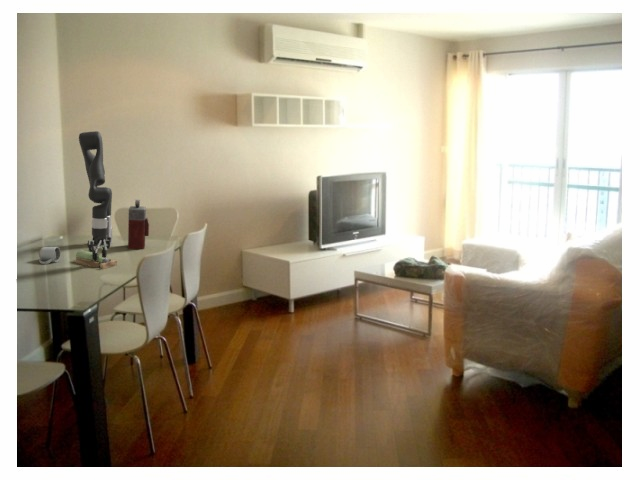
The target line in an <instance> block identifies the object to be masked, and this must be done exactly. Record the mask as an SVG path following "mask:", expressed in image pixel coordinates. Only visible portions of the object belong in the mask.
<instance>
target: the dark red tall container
mask: <svg viewBox="0 0 640 480" xmlns="http://www.w3.org/2000/svg"><path fill="white" fill-rule="evenodd" d="M140 201H141V200H140V199H135V203H134V205H130V206H129V208H128V229H127V230H128V231H127V232H128V233H127V234H128V236H127V239H128V240H127V242H128V243H127V245H128V246H127V249H131V250H144V249H145V248H146V237H149V236H150V220H149V218H148V217H147V208H146V206H140V204H141V203H140Z"/></svg>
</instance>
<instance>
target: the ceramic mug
mask: <svg viewBox="0 0 640 480" xmlns="http://www.w3.org/2000/svg"><path fill="white" fill-rule="evenodd" d="M38 256H39V259H38V260H39V263H40V264H42V265H47V264H50V263H51V262H52V263H57V262H59V260H60V258H61V249H60V247H58V246H43V247H41V248H40V249H39V253H38Z"/></svg>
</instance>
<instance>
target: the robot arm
mask: <svg viewBox="0 0 640 480" xmlns="http://www.w3.org/2000/svg"><path fill="white" fill-rule="evenodd" d="M78 141H79V146H80V149H81V152H82V156H83V160H84V165H85V171H86V175H87V179H88V183H89V190H88V195H87V196H88V199H89V200H90V201H92V202H93V203H94V204H97V205H94V206H92V211H91V212H92V215H91V217H92V218H91V235H92V239H90V240H87V247H88V252H92V258H93V260H97V254H98V250H99V249H100V247H101V257H103V258H107V253H108V252H107V251H108V249H110V248H111V245H112V244H113V228H112V198H113V191H112V189H111V188H110V187H107V186H103V185H104V184H105V183H106V178H105V177H106V176H105V175H106V173H105V172H106V170H105V166H104V147H103V144H104V143H103V137H102V134H101V132H100V131H97V130H96V131H87V132H86V131H85V132H80V133H79V135H78ZM95 150H96V152H95V154H93V153H92V151H95ZM100 186H101V187H100ZM102 186H103V187H102ZM111 243H112V244H111Z"/></svg>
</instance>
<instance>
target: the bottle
mask: <svg viewBox="0 0 640 480" xmlns="http://www.w3.org/2000/svg"><path fill="white" fill-rule="evenodd" d="M76 258H82V259H86V260H90V261H95V262H99V264H102V263H106V262H109V259H110V258H107V257H105V258H104V257H103V258H102V256H100V254H99V253H97V260H93V258H92V252H89V251H86V250H83V249H79V250H78V251H77V252H76V254H75V259H76Z"/></svg>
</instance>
